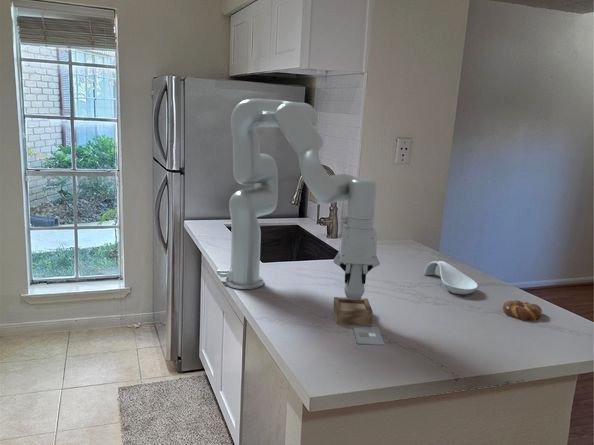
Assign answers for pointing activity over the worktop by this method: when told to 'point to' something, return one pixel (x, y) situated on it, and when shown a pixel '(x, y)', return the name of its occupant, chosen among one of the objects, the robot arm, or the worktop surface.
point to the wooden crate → (352, 311)
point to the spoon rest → (452, 278)
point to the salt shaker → (355, 283)
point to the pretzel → (522, 310)
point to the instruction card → (368, 335)
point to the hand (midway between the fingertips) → (354, 285)
